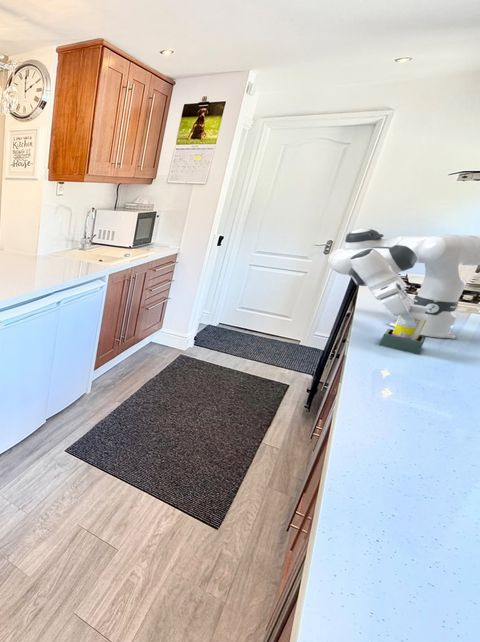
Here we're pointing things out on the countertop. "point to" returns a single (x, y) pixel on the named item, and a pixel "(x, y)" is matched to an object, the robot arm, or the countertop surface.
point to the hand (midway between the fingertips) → (414, 321)
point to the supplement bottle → (413, 329)
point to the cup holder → (402, 342)
